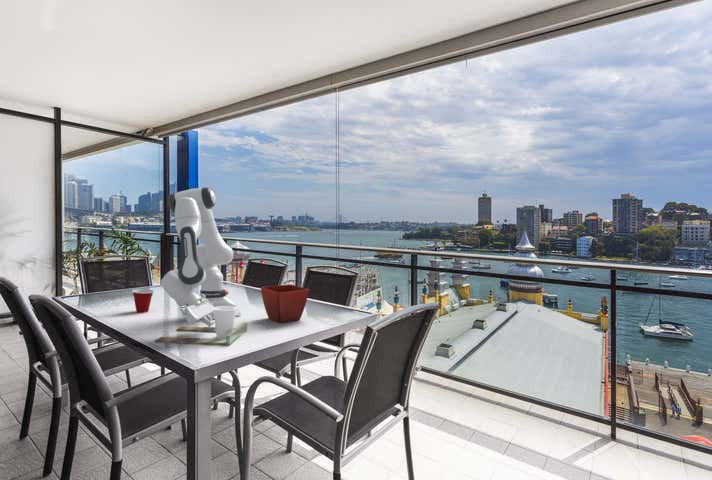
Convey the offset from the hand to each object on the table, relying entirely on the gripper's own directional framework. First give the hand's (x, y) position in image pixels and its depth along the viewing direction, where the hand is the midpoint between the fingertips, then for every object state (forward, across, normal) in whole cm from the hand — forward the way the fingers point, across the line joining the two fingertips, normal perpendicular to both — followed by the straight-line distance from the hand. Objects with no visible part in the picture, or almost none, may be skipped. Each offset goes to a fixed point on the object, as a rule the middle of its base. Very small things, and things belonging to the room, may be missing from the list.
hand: (211, 324), depth 166 cm
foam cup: (+8, -1, 0) cm, 8 cm away
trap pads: (-1, 0, +7) cm, 7 cm away
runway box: (+1, 0, +6) cm, 7 cm away
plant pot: (+21, +36, -13) cm, 44 cm away
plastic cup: (-35, +40, +43) cm, 68 cm away
